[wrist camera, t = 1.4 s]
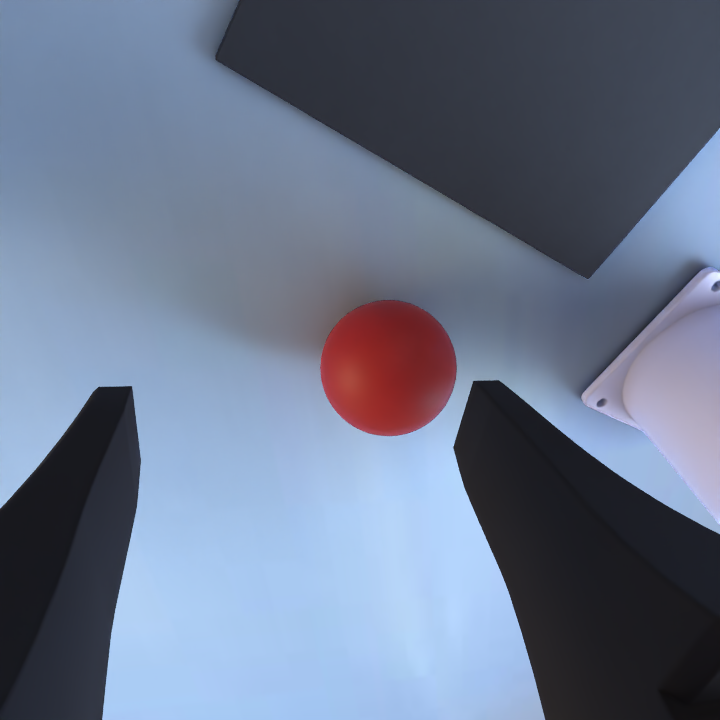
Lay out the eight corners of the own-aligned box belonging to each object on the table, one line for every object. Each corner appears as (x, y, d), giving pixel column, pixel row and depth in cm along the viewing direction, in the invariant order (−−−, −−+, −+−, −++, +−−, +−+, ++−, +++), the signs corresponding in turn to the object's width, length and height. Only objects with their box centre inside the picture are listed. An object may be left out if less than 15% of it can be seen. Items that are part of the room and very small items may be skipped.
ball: (458, 305, 24) (505, 382, 20) (390, 393, 26) (421, 478, 22) (354, 254, 22) (384, 330, 18) (290, 355, 24) (304, 442, 20)
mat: (813, 8, 20) (822, 10, 19) (583, 275, 24) (588, 280, 24) (435, -447, 12) (441, -456, 12) (214, 56, 17) (214, 59, 17)
